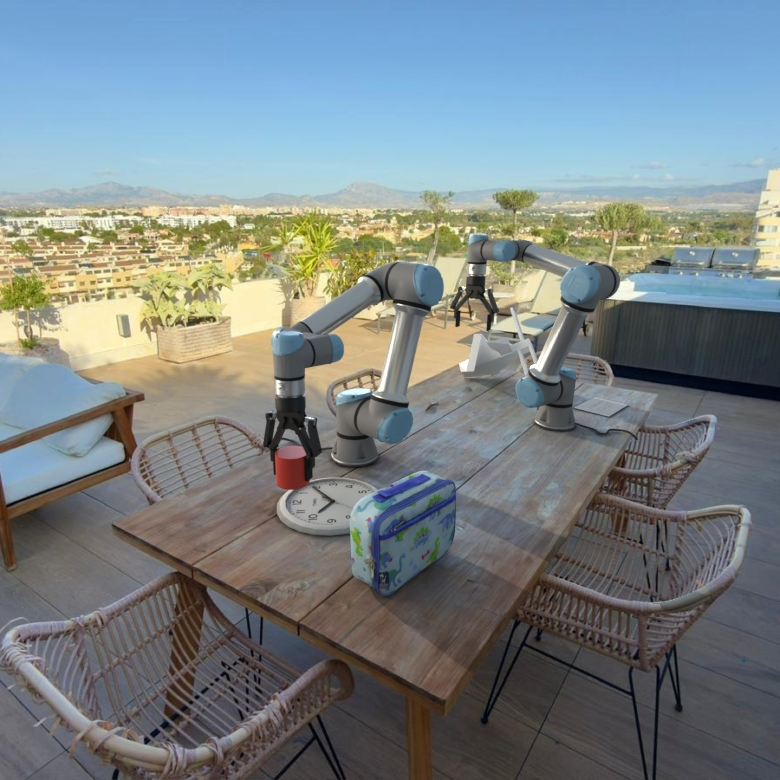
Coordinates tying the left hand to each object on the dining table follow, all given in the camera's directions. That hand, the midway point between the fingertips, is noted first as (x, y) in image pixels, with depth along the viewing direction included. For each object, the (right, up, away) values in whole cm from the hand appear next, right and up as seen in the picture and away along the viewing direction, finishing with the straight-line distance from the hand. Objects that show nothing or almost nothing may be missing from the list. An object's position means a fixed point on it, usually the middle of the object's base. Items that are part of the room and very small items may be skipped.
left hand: (293, 475), depth 137 cm
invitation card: (+117, +15, +89) cm, 148 cm away
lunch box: (+29, -17, -21) cm, 39 cm away
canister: (0, -2, 0) cm, 2 cm away
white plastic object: (+78, +25, +119) cm, 145 cm away
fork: (+43, +16, +86) cm, 97 cm away
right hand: (+59, +48, +75) cm, 106 cm away
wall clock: (+10, -9, +5) cm, 14 cm away
